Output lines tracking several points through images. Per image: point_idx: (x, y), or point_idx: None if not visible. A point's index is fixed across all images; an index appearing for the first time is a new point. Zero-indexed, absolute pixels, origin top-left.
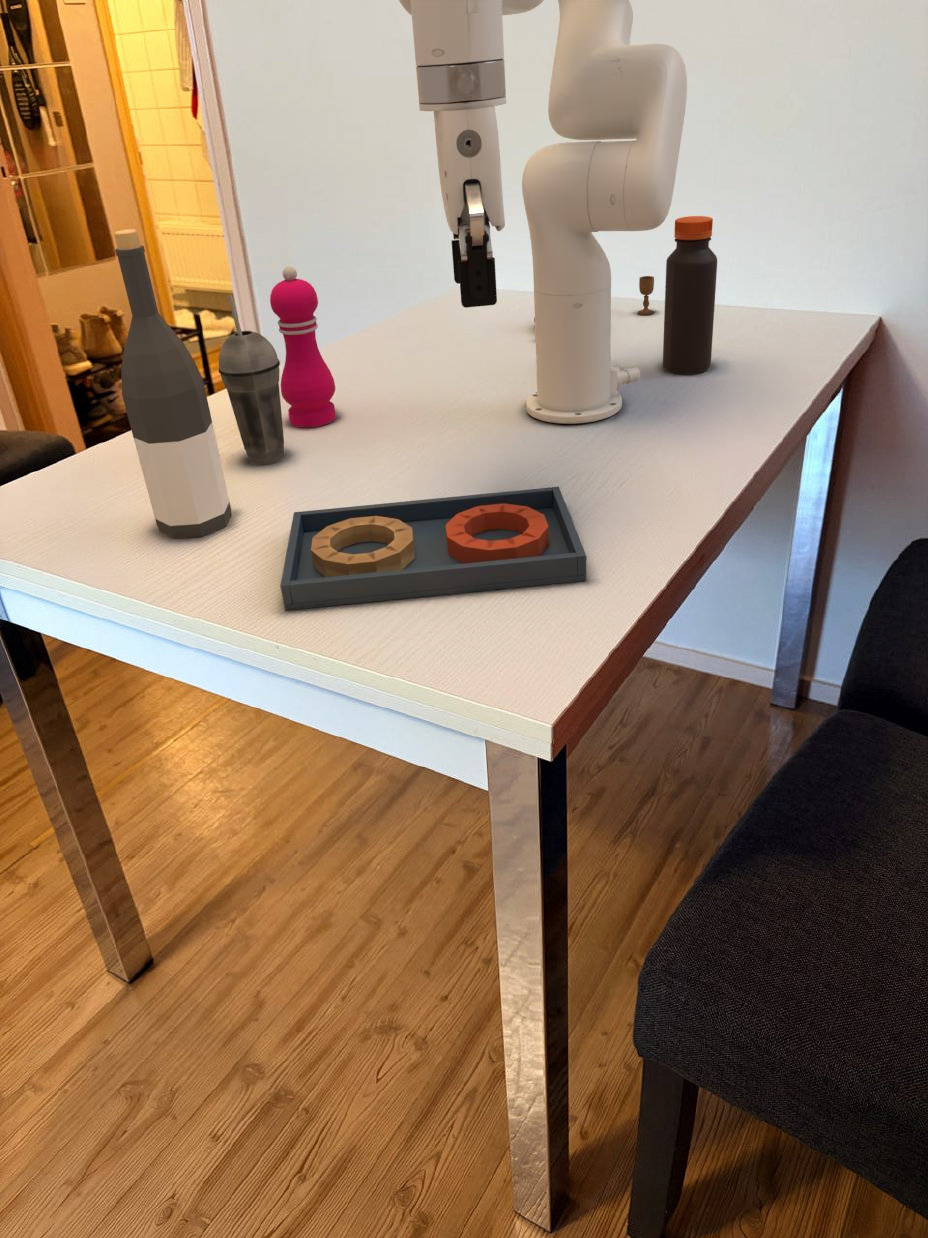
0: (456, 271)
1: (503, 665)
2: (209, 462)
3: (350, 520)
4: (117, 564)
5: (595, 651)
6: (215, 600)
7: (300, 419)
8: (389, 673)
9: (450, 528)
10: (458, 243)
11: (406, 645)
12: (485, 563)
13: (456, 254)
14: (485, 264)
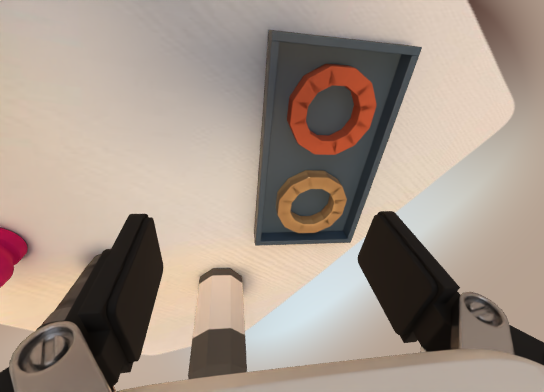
0: (157, 288)
1: (460, 129)
2: (232, 308)
3: (281, 214)
4: (262, 300)
5: (487, 67)
6: (318, 259)
7: (23, 255)
8: (428, 185)
9: (322, 151)
10: (134, 353)
11: (410, 177)
12: (388, 132)
13: (145, 325)
14: (457, 295)
